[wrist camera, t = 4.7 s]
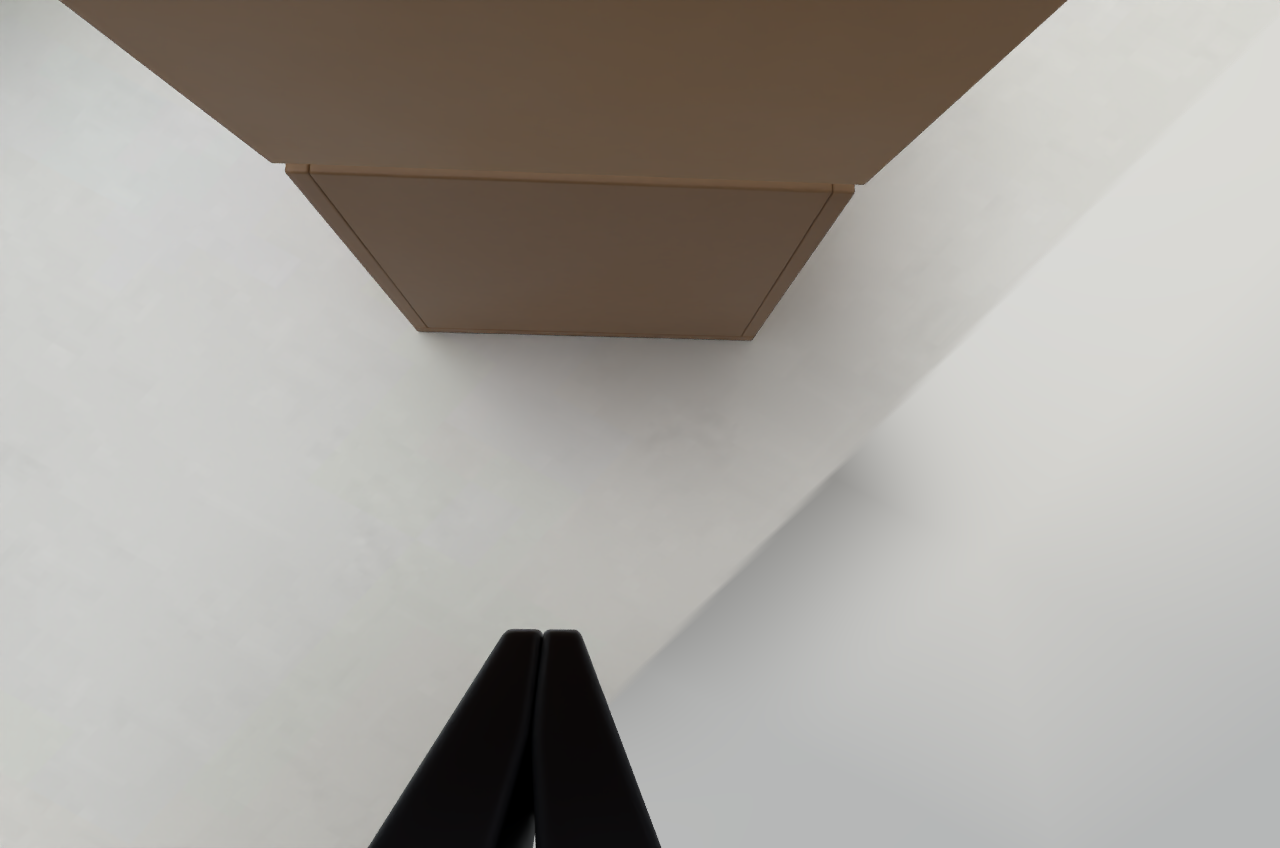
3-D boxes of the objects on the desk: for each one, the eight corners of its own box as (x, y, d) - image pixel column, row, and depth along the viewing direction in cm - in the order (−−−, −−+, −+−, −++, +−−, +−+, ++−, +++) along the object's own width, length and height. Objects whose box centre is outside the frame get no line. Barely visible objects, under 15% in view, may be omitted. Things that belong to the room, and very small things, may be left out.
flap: (865, 167, 13) (865, 185, 13) (271, 144, 12) (270, 163, 12) (1115, -75, 6) (1113, -39, 6) (-74, -139, 6) (-76, -101, 6)
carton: (752, 340, 23) (869, 173, 13) (416, 331, 22) (265, 151, 12) (748, -42, 25) (845, -441, 15) (442, -57, 24) (331, -480, 14)
